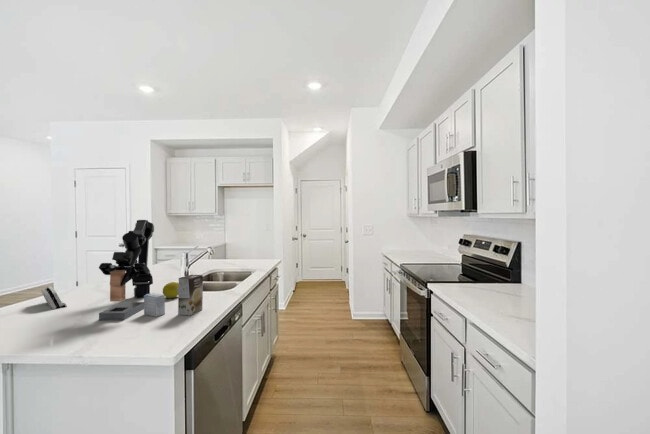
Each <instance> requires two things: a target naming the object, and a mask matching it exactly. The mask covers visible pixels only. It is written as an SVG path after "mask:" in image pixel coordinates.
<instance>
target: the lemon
mask: <svg viewBox="0 0 650 434" xmlns="http://www.w3.org/2000/svg"><path fill="white" fill-rule="evenodd" d="M178 288H179V282H173V281H172V282H168V283H166V284H165V285H164V286H163V288H162V295H165V298H167V299H174V298H176V297H178Z"/></svg>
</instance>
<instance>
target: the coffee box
mask: <svg viewBox="0 0 650 434" xmlns="http://www.w3.org/2000/svg"><path fill="white" fill-rule="evenodd" d="M203 280H204V275H202V274H188V275H185V276H181V277H178V283H179V288H178V296H177V300H178V301H177V302H178V303H177V305H178V306H177V314H178V315H180V316H192V315H194V314H197V313H199V312H200V310H201V311H203V290H204V289H203V288H204V287H203V285H204V284H203Z"/></svg>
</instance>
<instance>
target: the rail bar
mask: <svg viewBox="0 0 650 434" xmlns="http://www.w3.org/2000/svg"><path fill="white" fill-rule="evenodd" d="M142 310H143V311H144V301H138V302H137V301H134V302H133V301H129V302H127V301H120V302H119V303H117V304H116V305H115V304H114V305H113V306H111V307H108V308H106V309H105V310H103V311H100V312H99V313H98V321H125V320H128V319H129V318H131V317H133V316H134V315H135V314H137V313H139V312H141V311H142Z"/></svg>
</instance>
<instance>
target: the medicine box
mask: <svg viewBox="0 0 650 434" xmlns="http://www.w3.org/2000/svg"><path fill="white" fill-rule="evenodd" d="M165 298H166V297H165V295H163V293H155V292H151V293H150V294H146V295H144V297H143V302H144V309H143V315H146V316H150V317H155V318H157V317H160V316H165V314H166V310H165V309H166V307H165V306H166V303H165V300H166V299H165Z"/></svg>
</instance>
